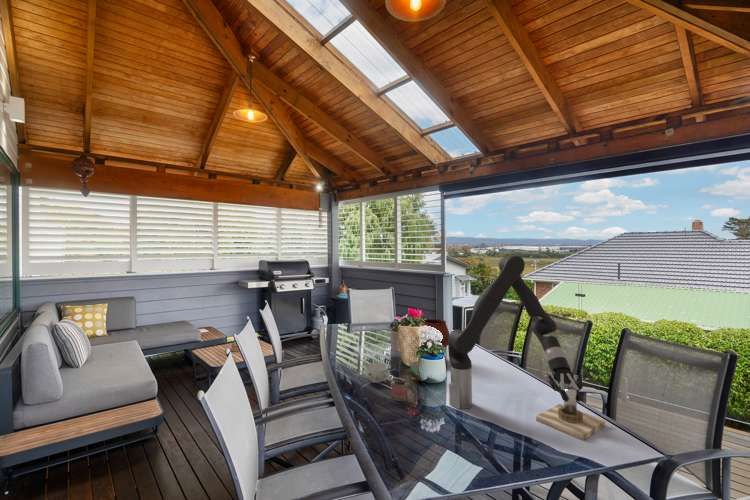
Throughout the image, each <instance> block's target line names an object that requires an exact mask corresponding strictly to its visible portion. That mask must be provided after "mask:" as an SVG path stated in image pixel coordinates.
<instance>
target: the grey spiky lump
mask: <svg viewBox="0 0 750 500" xmlns="http://www.w3.org/2000/svg"><path fill="white" fill-rule="evenodd" d="M364 370H365V374H366V376H367V378H368V379H369V380H370V381H371V382H372V383H374V384H381V383H382V382H383V381H387V380H388V372H389V365H388V364H387V363H386V362H385V363H384V362H377V361H376V362H371V363H368V364H366V365H365V366H364Z"/></svg>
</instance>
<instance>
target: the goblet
mask: <svg viewBox="0 0 750 500" xmlns="http://www.w3.org/2000/svg"><path fill="white" fill-rule="evenodd" d="M424 321H425V322H423V321H422V323H423V324H424V325H427V326H431V327H434V328H436V329H437V330H439V331H440V332H441V333H442V335H443V339H442V341H441V343H442V345H443V346H444V347H445V349H446V348H448V338H449V335H450V331H449V328H448V326H447V321H446V320H444V319H440V318H431V319H429V318H426V319H424Z"/></svg>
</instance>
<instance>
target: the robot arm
mask: <svg viewBox="0 0 750 500" xmlns="http://www.w3.org/2000/svg"><path fill="white" fill-rule="evenodd" d="M525 264H526V263H525V260H524V259H523V258H522V257H521V256H520V255H509V256H504V257H502V258H501V259H500V260H499V263H498V269H499V271H500V273H499V274H498V276H497V277H496V278H495V279H494V280H493V281H492V282H491V283H490V284H488V286H487V287H486V288H485V289H483V291H481V293H480V294H479V296H478V298H477V299H476V301H475V303H474V305H473V308H472V313H471V317H470V320H469V322H468V324H467V325H466V327H465V328H464V329H459V328H458V329H453V330H452V331H451V332H449V334H450V335H449V338H448V346H447V349H448V351H447V352H448V358H449V363H450V383H449V384H448V386H449V391H448V392H449V394H448V395H449V399H448V400H449V405H450V406H452V407H454V408H457V409H458V410H461V409H462V410H463V409H465V410H466V409H469V408H471V407H472V406H473V385H472V384H473V383H472V381H473V378H472V374H473V372H472V367H473V366H472V360H471V358H470V357H469V353H471V351H473V349H474V348H475V346H476V344H477V342H478V340H479V338H480V336H481V334H482V332H483V330H484V329H485V327H486V326H487V324H489V321H490V319H491V318H492V316H493V315H494V314H495V312H496V311H497V309H498V308H499V306H500V305H501V303H502V302H503V299H504V298H505V296H506V295H507V294H508V291H509V290H510V289H511V288H512V289H513V291H514V292H515V294H516V296H517V297H518V298H519V300H520V302H521V304H522V306H523V308H524V310H525V311H526V313H527V315H528V316H529V317H530V318H541V319H538V320H535V321H532V322H531V324H530V330H531V332H533V334H534V336H536V338H537V339H538V341H539V342H540V344H541V346H542V349H543V352H544V356H545V358H546V362H547V364H548V367H549V369H550V372H551V374H548V375H547V377H546V379H545V380H546V381H547V382H548V383H549V385H550V387H551V388H552V390H553V391H554V392H559V394H560V396H561V398H562V401H563V402H564V401H565V402H567V401H568V397H567V395H566V392H565V391H564V387H565V385H566V386H567V385H568V387H572V388H575V389H576V394H577V402H578V403H579V402H581V401H582V396H581V393H580V391H581V390H582V389H583V388H584V387H583V379H582V375H581V374H578V375H577V374H574V372H572V370H571V367H570V364H569V362H568V359H567V357H566V355H565V352H564V350H563V349H562V347H561V344H560V341H559V340H558V338H557V336H554V335H549V334H553V333H555V332H556V331H557V330H558V329H557V328H558V325H557V323H556V321H555V320H554V319H553V318H552V317H551V316H550V315H549V314H548V313H547V311H545V310H544V308H543V306H542V304H541V303H540V300H539V299H538V297H537V296H536V294H535V293H534V291H532V289H531V288H530V287H529V286H528V285H527V284H526V282H525V280H523V278H522V276H521V275H522V274H523V272H524V270H525V267H526V265H525ZM546 335H547V336H546Z"/></svg>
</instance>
